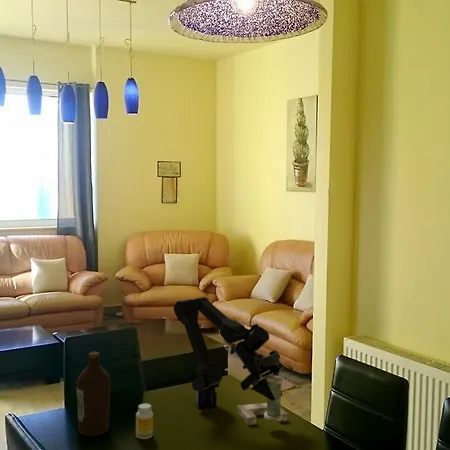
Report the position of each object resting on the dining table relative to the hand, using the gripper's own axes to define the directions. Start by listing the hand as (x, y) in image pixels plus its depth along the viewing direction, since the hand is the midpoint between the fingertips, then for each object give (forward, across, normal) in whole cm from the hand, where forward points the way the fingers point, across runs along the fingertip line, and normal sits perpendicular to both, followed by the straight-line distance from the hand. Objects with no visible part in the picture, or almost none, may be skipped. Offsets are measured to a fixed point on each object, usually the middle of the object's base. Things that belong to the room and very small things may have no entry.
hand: (277, 398), depth 192 cm
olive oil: (-25, -36, +40) cm, 60 cm away
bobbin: (+4, 0, +6) cm, 7 cm away
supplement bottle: (-14, -29, +29) cm, 44 cm away
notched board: (+1, +6, +14) cm, 16 cm away
